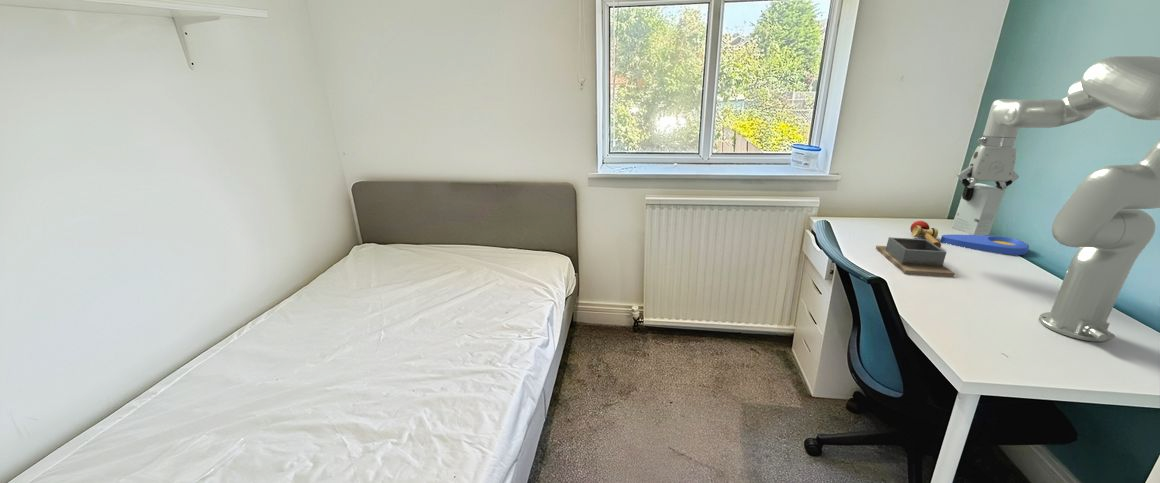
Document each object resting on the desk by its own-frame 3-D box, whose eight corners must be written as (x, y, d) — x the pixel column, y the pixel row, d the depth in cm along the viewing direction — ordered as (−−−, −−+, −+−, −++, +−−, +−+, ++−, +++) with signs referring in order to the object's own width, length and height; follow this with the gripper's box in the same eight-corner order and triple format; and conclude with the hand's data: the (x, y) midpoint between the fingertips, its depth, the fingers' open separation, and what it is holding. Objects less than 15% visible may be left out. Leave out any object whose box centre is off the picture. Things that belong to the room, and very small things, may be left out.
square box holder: (953, 276, 146) (959, 258, 144) (904, 273, 148) (909, 255, 146) (918, 251, 166) (922, 234, 164) (875, 248, 168) (879, 232, 166)
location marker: (944, 248, 170) (1033, 258, 160) (946, 240, 169) (1036, 249, 159) (935, 237, 181) (1018, 245, 171) (938, 229, 180) (1021, 237, 170)
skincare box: (950, 228, 152) (963, 183, 147) (966, 227, 152) (979, 182, 148) (975, 236, 144) (989, 189, 139) (992, 235, 145) (1006, 188, 140)
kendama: (948, 253, 168) (928, 230, 183) (950, 238, 165) (929, 216, 180) (923, 255, 170) (905, 232, 186) (925, 239, 167) (906, 218, 183)
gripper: (972, 143, 137) (956, 202, 143) (1040, 144, 134) (1020, 204, 140) (957, 140, 144) (942, 196, 150) (1021, 141, 141) (1003, 198, 147)
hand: (980, 199), depth 145 cm, fingers closed on skincare box, 7 cm apart
